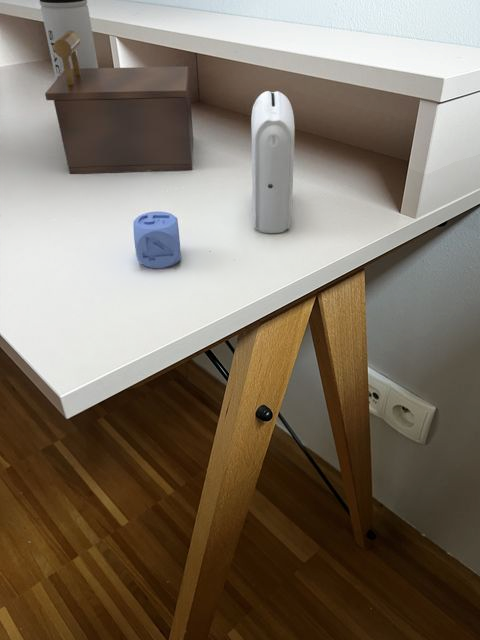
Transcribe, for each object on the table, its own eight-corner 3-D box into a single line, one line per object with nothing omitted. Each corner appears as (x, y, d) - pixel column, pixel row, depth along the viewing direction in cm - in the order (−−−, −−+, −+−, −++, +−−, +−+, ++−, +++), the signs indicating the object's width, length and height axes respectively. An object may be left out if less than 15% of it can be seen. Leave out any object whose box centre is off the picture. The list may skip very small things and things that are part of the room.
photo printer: (293, 234, 58) (297, 110, 50) (251, 234, 58) (250, 109, 50) (289, 194, 66) (292, 81, 58) (252, 194, 66) (251, 81, 58)
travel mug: (106, 118, 90) (81, -32, 77) (108, 130, 85) (82, -28, 72) (66, 121, 88) (34, -31, 76) (66, 133, 83) (31, -27, 71)
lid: (46, 100, 65) (33, 45, 62) (66, 75, 75) (56, 26, 72) (186, 97, 67) (182, 42, 63) (188, 72, 76) (184, 24, 73)
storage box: (69, 173, 71) (53, 100, 66) (85, 141, 81) (72, 75, 75) (192, 170, 72) (186, 97, 67) (193, 138, 82) (188, 73, 76)
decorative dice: (181, 267, 53) (177, 228, 50) (138, 270, 52) (132, 231, 50) (180, 247, 56) (176, 209, 53) (139, 250, 55) (134, 212, 53)
